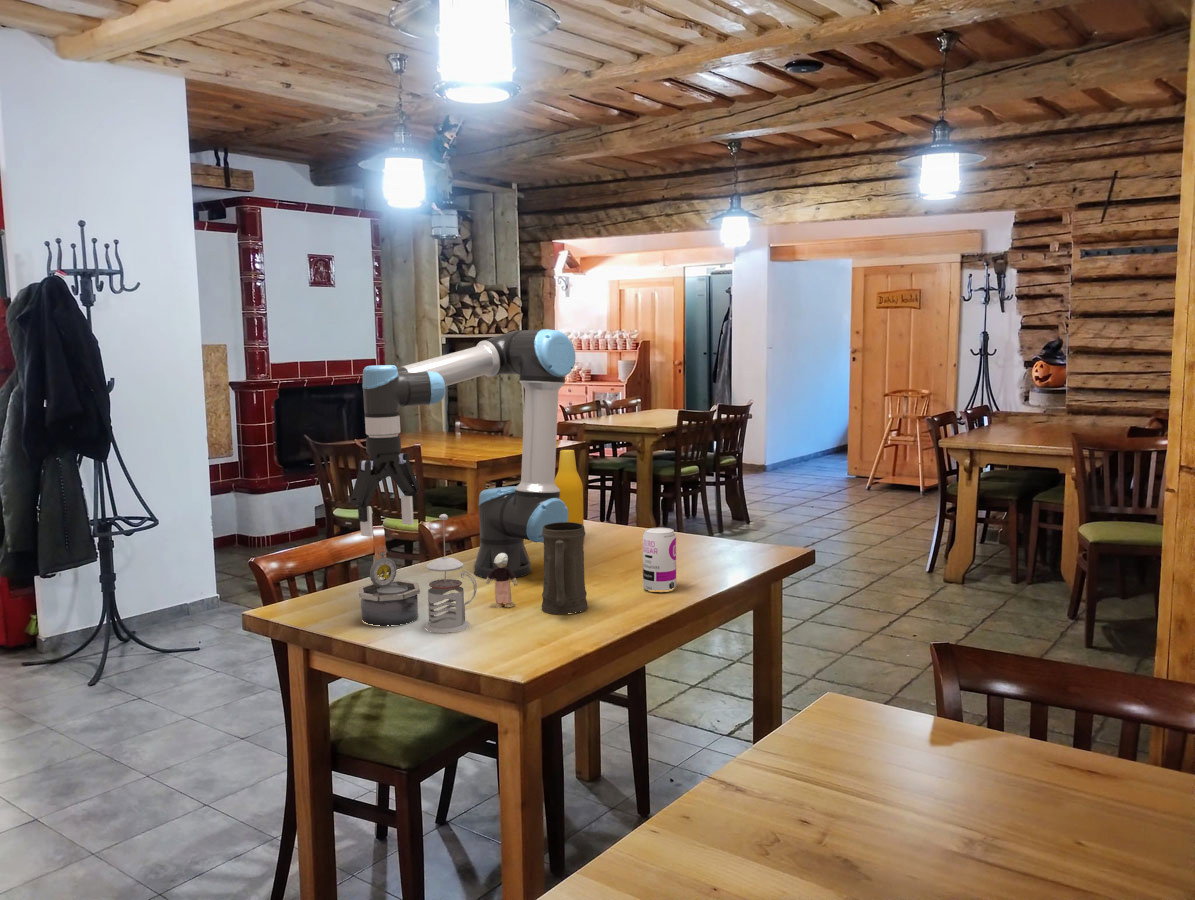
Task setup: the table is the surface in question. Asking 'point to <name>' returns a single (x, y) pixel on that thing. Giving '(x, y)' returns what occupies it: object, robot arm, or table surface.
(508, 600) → the grandmother figurine
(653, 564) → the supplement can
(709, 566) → the table surface
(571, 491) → the beer bottle
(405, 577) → the table surface
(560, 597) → the beer stein
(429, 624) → the french press
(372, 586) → the grey octagonal rimmed bowl
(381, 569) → the pocket watch
